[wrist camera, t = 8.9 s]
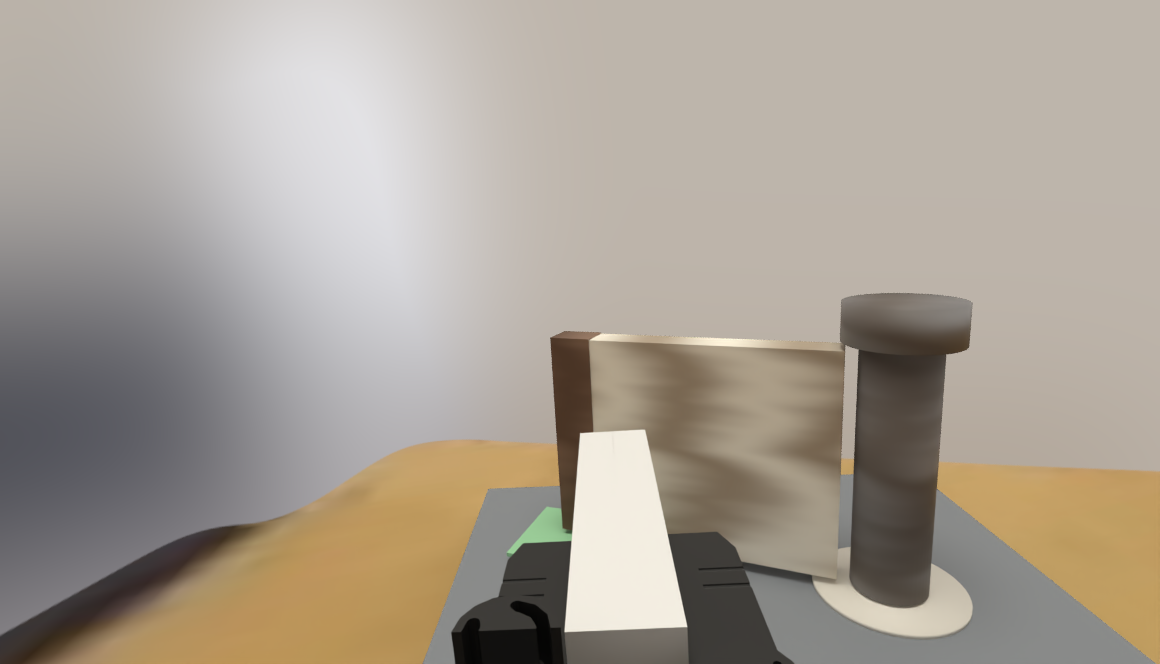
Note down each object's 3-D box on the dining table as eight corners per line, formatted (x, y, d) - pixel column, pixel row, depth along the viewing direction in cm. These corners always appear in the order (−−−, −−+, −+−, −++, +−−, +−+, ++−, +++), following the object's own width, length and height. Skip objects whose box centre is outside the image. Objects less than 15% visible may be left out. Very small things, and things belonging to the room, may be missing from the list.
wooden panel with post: (941, 565, 26) (962, 293, 24) (957, 629, 22) (983, 312, 20) (586, 504, 33) (574, 291, 31) (550, 545, 29) (533, 304, 27)
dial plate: (914, 494, 36) (916, 468, 36) (1346, 872, 15) (1359, 818, 15) (490, 511, 37) (488, 485, 36) (360, 891, 16) (353, 840, 16)
